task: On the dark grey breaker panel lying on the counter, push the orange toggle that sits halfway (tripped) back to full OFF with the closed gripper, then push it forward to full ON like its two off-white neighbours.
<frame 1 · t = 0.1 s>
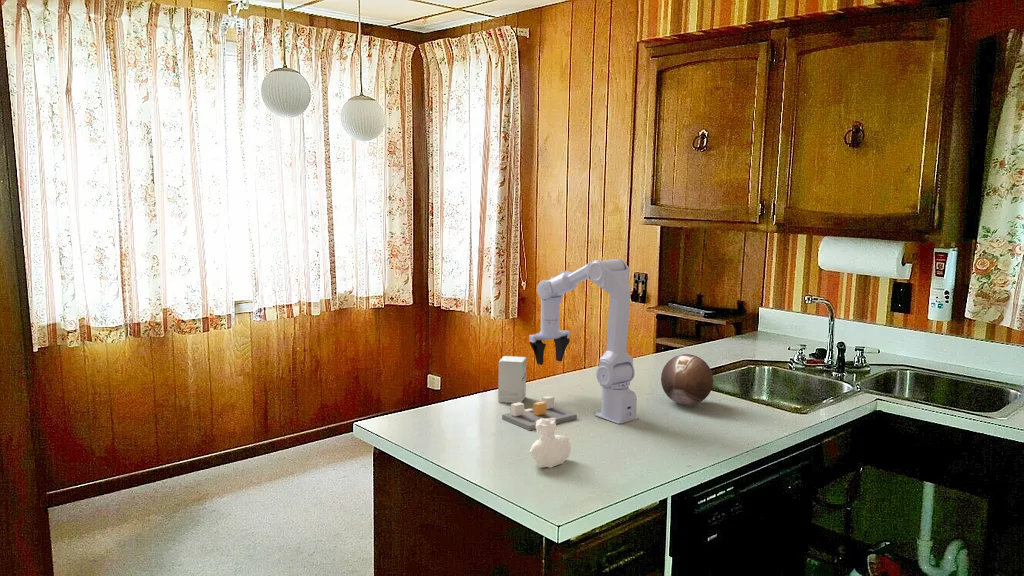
hand: (549, 362, 224), 10 cm above the worktop, tool pointing down, fingers open, 7 cm apart
breaker panel: (539, 418, 202), on the worktop
supplement box: (512, 400, 220), on the worktop
tripped breaker: (539, 408, 201), point 3 cm above the worktop, slide at 0.0 cm
bust: (548, 463, 170), on the worktop
brown metallic sphere: (685, 404, 217), on the worktop
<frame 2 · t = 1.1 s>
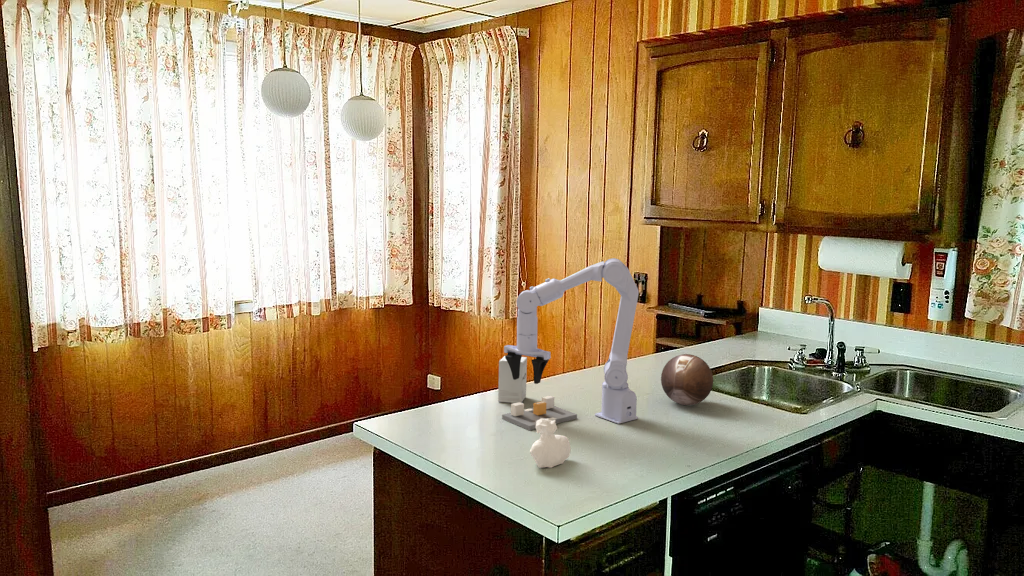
hand: (526, 380, 205), 9 cm above the worktop, tool pointing down, fingers open, 7 cm apart
nothing on the worktop moved.
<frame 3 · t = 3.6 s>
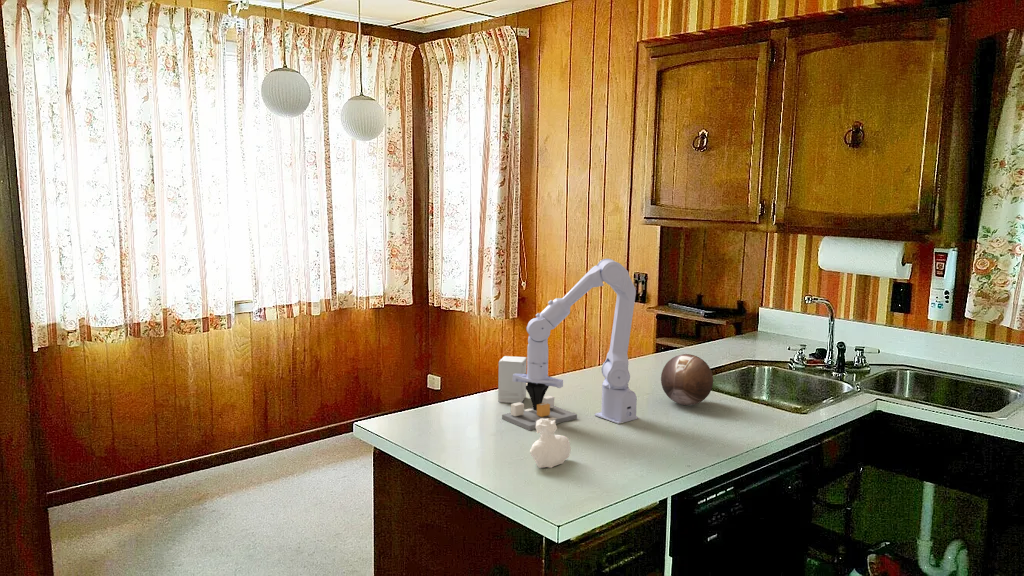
hand: (537, 409, 202), 2 cm above the worktop, tool pointing down, fingers closed
tripped breaker: (543, 409, 200), point 3 cm above the worktop, slide at -1.5 cm, touching gripper
everything else where it was.
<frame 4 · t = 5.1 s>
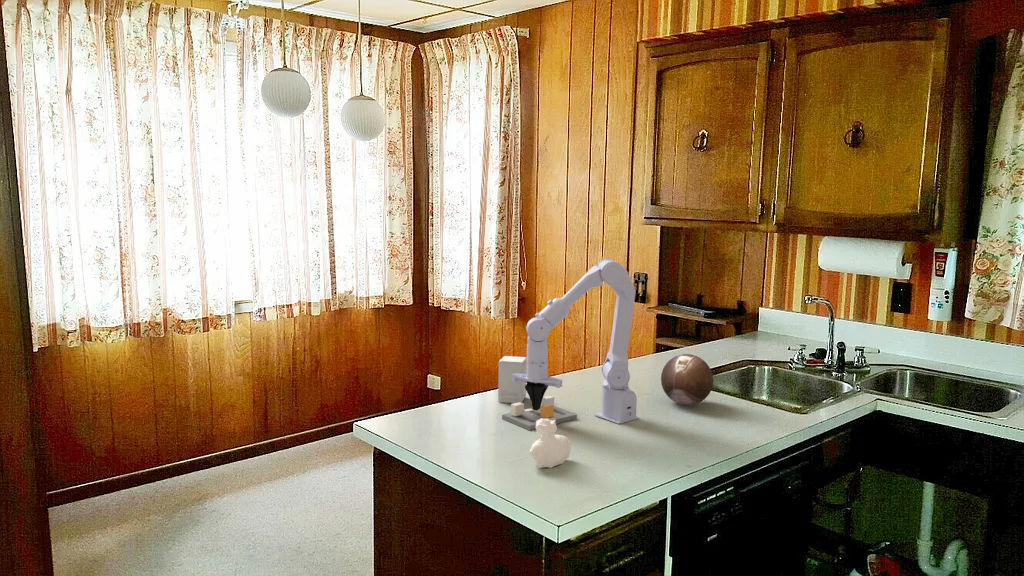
hand: (536, 409, 202), 2 cm above the worktop, tool pointing down, fingers closed
tripped breaker: (546, 410, 199), point 3 cm above the worktop, slide at -3.0 cm
everything else where it was.
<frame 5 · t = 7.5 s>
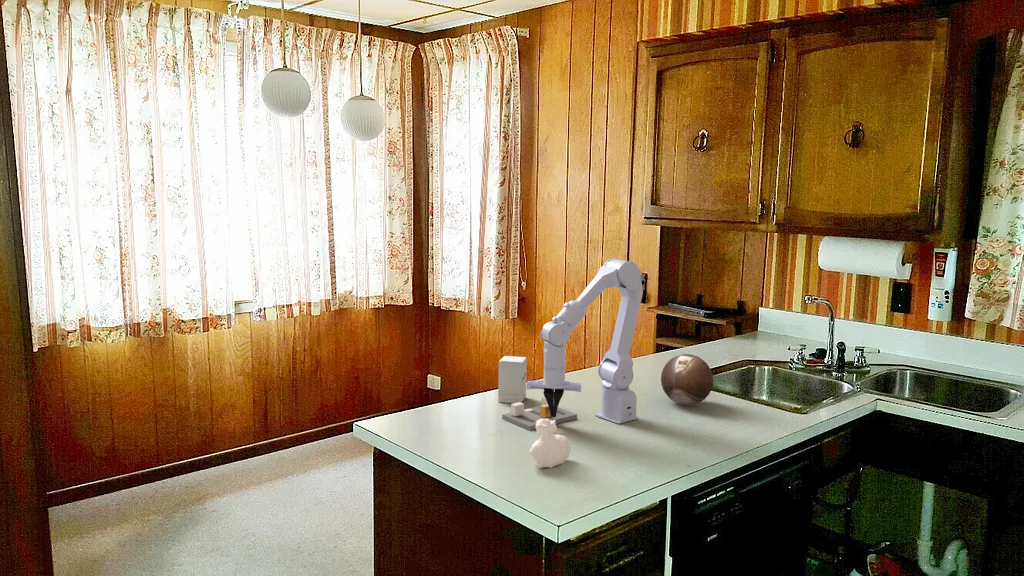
hand: (553, 415, 197), 2 cm above the worktop, tool pointing down, fingers closed
tripped breaker: (546, 410, 199), point 3 cm above the worktop, slide at -2.9 cm, touching gripper
everything else where it was.
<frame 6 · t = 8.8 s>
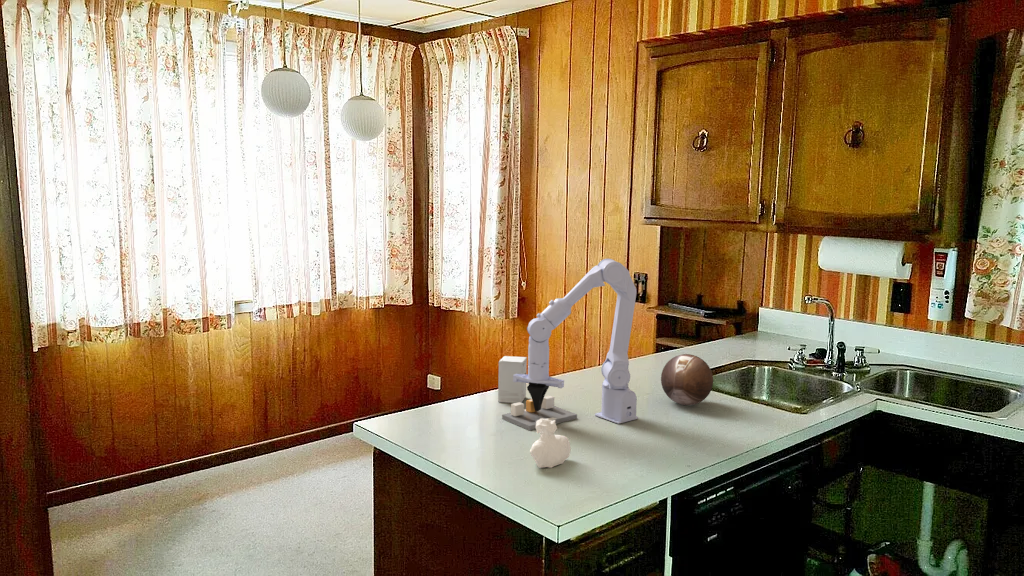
hand: (537, 409, 202), 2 cm above the worktop, tool pointing down, fingers closed
tripped breaker: (532, 405, 204), point 3 cm above the worktop, slide at 3.2 cm, touching gripper
everything else where it was.
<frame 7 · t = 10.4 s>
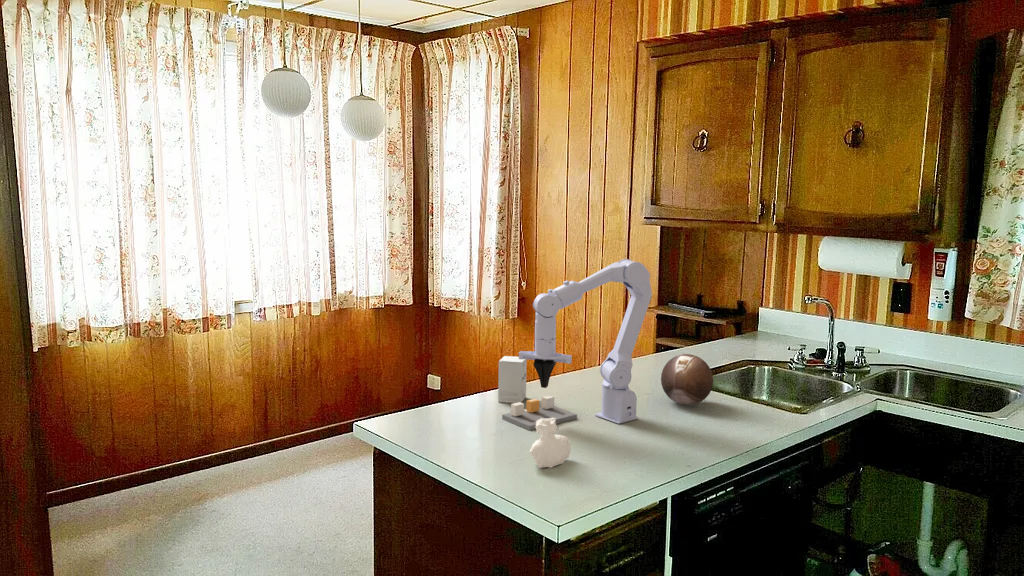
hand: (544, 386, 199), 9 cm above the worktop, tool pointing down, fingers closed
tripped breaker: (532, 405, 204), point 3 cm above the worktop, slide at 3.0 cm
everything else where it was.
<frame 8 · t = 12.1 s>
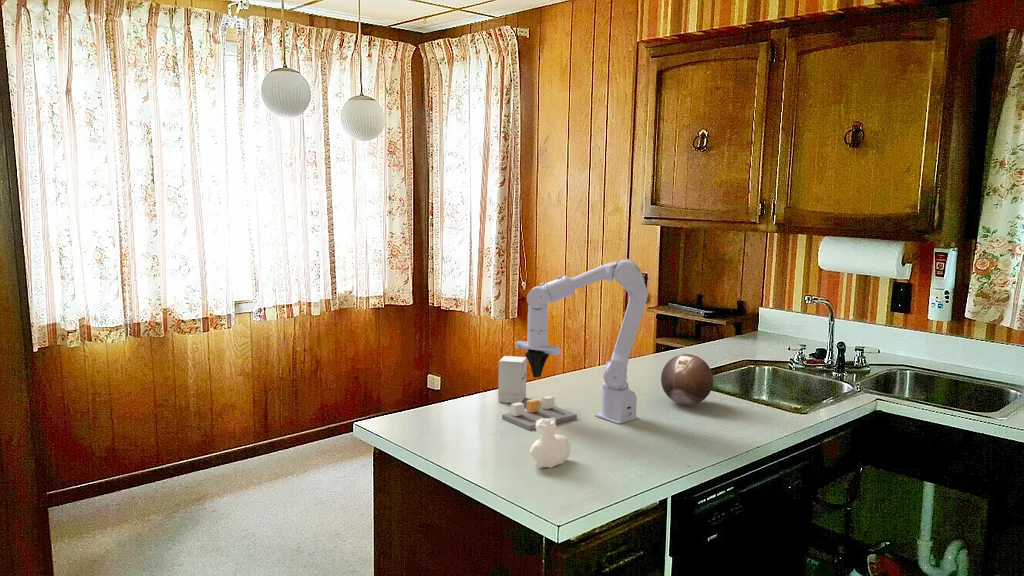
hand: (537, 376, 206), 10 cm above the worktop, tool pointing down, fingers closed
nothing on the worktop moved.
at the end: tripped breaker slide at 3.0 cm; tripped breaker touching nothing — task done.
